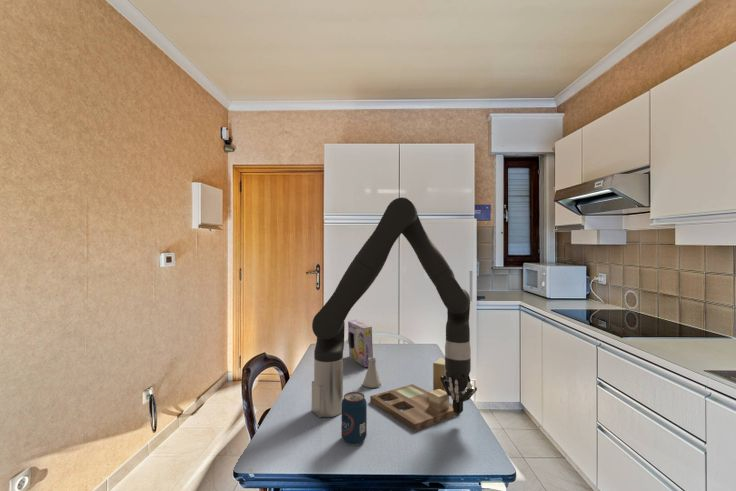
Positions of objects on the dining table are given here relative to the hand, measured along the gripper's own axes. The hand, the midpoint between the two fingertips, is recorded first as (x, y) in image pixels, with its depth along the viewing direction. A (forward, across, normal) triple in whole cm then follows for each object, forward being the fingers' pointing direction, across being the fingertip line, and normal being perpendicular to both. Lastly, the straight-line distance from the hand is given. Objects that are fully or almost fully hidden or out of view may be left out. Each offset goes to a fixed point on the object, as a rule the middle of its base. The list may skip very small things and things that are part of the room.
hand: (457, 412), depth 107 cm
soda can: (+3, +10, +31) cm, 32 cm away
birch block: (+1, +8, 0) cm, 8 cm away
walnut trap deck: (+3, +15, +4) cm, 16 cm away
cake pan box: (+3, +65, -6) cm, 65 cm away
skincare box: (+4, +18, -11) cm, 21 cm away
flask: (+4, +39, +5) cm, 39 cm away
